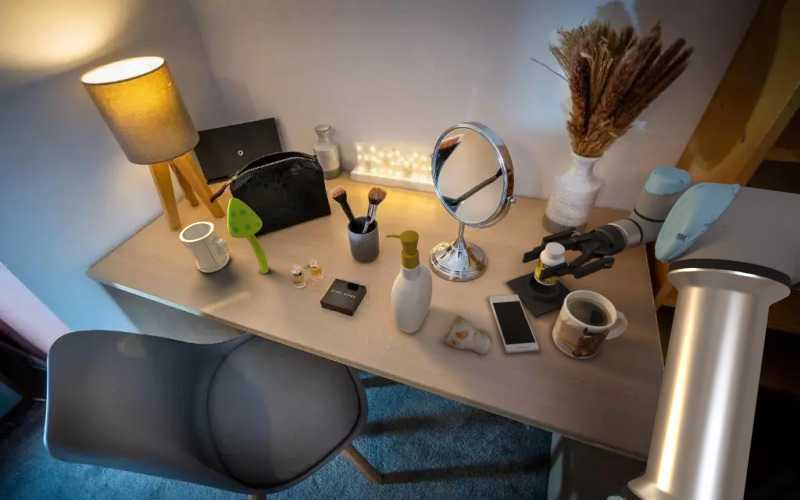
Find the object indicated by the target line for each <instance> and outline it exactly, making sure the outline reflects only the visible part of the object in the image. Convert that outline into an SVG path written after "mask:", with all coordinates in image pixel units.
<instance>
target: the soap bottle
mask: <svg viewBox="0 0 800 500" xmlns="http://www.w3.org/2000/svg"><path fill="white" fill-rule="evenodd" d="M419 237H420V235H419V233H418V232H417V231H416V230H413V229H407V230H404V231H402V232H401V233H400V234H395V233H394V234H386V235H385V238H395V239H399V240H400V245H401V247H402V249H401V253H400V256H401V261H400V271H399V273H398V274H397V276H396V278H395V280H394V281H393V284H392V287H391V291H390V293H391V294H390V311H391V315H392V319H393V321H394V324H395V325H396V327H398V329H399V330H400V331H402V332H404V333H408V334H412V333H413V334H414V333H415V332H417V331H418V330H419V329H420V327H421V326H422V325H423V323H424V321H425V318H426V316H427V314H428V311H429V309H430V307H431V303H432V295H433V279H432V274H431V271H430V270H429V268H428V267H426V266H425V265H422V264H421V260H420V252H419V249H418V243H419V239H420V238H419Z"/></svg>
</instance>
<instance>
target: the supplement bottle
mask: <svg viewBox="0 0 800 500" xmlns="http://www.w3.org/2000/svg"><path fill="white" fill-rule="evenodd" d="M565 252H566V251H565V248H564V247H563V246H562V245H561V244H558V243H549V244H547V245H546V248H545V250H543V251H542V252H541V254H540V257H539V259H538V261H537V264H536V268H535V270H534V272H535V279H536V280H537V281H538V282H539V283H541V284H544V285H553V284H555V283H556V282H557V281H558V280H559V278H560V277H556V276H554V277H551V278H548V279H545V280H543V281H540V280H539V276H540V273H541V270H544V269H547V268H550V267H552V266H555V265H558V264H561V263H564V262H566V257H565Z"/></svg>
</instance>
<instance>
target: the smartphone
mask: <svg viewBox="0 0 800 500" xmlns="http://www.w3.org/2000/svg"><path fill="white" fill-rule="evenodd" d="M489 303H490V306H491V310H492V313H493V315H494V319H495V323H496V326H497V328H498V332H499V334H500V338H501V342H502V344H503V345H502V346H503V347H504V352H505V353H507V354H513V353H514V354H515V353H525V352H526V353H527V352H538V351H539V349H540V348H539V347H540V346H539V343H538V341H537V339H536V337H535V334H534V331H533V328H532V327H531V324H530V321H529V319H528V316H527V314H526V311H525V309H524V306H523V304H522V301H521V300H520V298H519V296H518V295H516V294H507V295H496V296H495V295H493V296H490V297H489Z"/></svg>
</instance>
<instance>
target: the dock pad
mask: <svg viewBox="0 0 800 500" xmlns="http://www.w3.org/2000/svg"><path fill="white" fill-rule="evenodd" d="M506 285H507V286H508V287H509V288H510V289H511V290H512V291H513V293H514V295H518V296H519V299H520V301H521V303H523V304H524V306H525V307H526V308H527V309H528V311H529V312H530V313H531V314H532V315H533V316H534V317H535V318H536V319H538V318H540V317H543V316H545V315H548V314H550V313H553V312H555V311H558V310H561V308H562V306H563V303H564V301H565V298H566V297H567V295H569V294H570V293H572V292H571V290H569V289H568V288H567V287H566V285H564V284H563V283H562V282H561V281H560V280H559V279H558V281H557V282H556V283H555V284H553V285H544V284H541V283H539V282H538V281H537V280H536V279H535V271H533V272H530V273H527V274H525V275H522V276H519V277H515V278H513V279H510V280H508V281H507V282H506Z"/></svg>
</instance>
